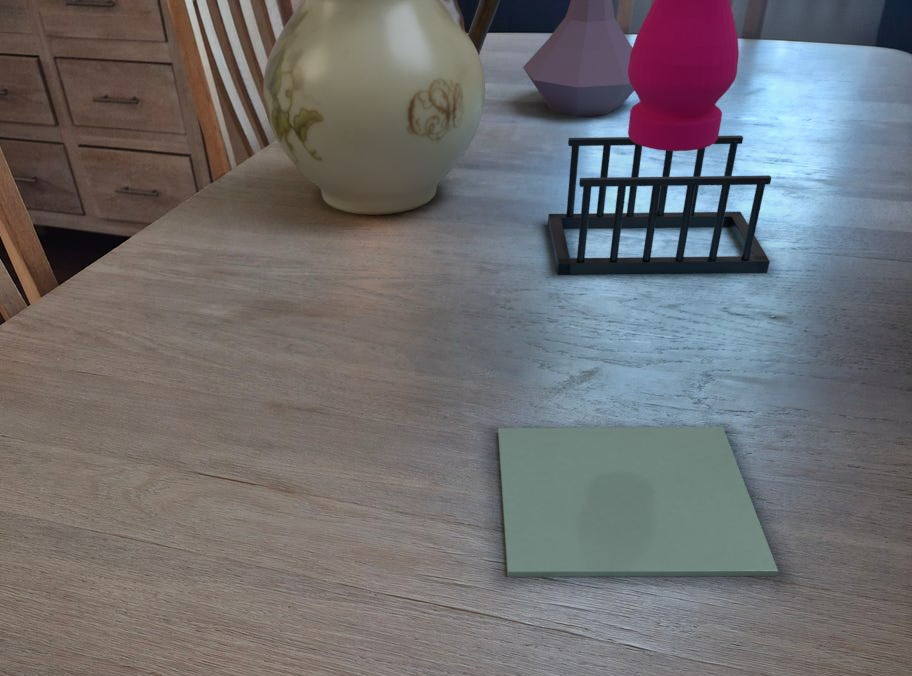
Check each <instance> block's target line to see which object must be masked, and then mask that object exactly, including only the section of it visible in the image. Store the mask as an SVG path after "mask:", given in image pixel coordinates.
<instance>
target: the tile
mask: <svg viewBox="0 0 912 676" xmlns="http://www.w3.org/2000/svg"><path fill="white" fill-rule="evenodd" d="M497 436H498V437H497V438H498V439H497V440H498V454H499V469H500V484H501V498H502V515H503V528H504V529H503V531H504V543H505V544H504V545H505V546H504V547H505V559H506V561H505V562H506V576H507V578H555V577H556V578H565V577H566V578H569V577H570V578H581V577H582V578H590V577H593V578H594V577H595V578H596V577H597V578H598V577H601V578H602V577H603V578H604V577H605V578H606V577H611V578H613V577H614V578H615V577H618V578H619V577H623V578H624V577H625V578H627V577H630V578H631V577H777V576H778V573H779V569H778V566H777V564H776V561H775V559H774V557H773V554H772V551H771V549H770V546H769V543H768V541H767V538H766V535H765V533H764V530H763V528H762V525H761V523H760V520H759V518H758V515H757V512H756V510H755V507H754V504H753V501H752V499H751V496H750V494H749V491H748V488H747V486H746V483H745V481H744V477H743V475H742V473H741V470H740V468H739V465H738V463H737V460H736V457H735V455H734V452H733V450H732V447H731V444H730V442H729V440H728V439H729V438H728V436H727V434H726V432H725V428H724V426H660V427H659V426H649V427H648V426H646V427H644V426H643V427H642V426H639V427H638V426H637V427H636V426H635V427H633V426H632V427H623V426H622V427H501V428H500V427H498V428H497Z"/></svg>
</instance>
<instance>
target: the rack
mask: <svg viewBox="0 0 912 676" xmlns="http://www.w3.org/2000/svg"><path fill="white" fill-rule="evenodd" d="M743 141H744V137H743V135H718V139H717V140H716V142H715V143H714V144H713V145H729V148H728V153H727V158H726V164H725V169H724V174H723V175H702V172H703V171H702V170H703V165H704V159H705V153H706V148H702V149H697V150H696V156H695V162H694V169H693V175H692V176H690V175H689V176H670V175H671V169H672V162H673V155H674V151H666V150H665V154H664V160H663V166H662V167H663V168H662V175H661V176H640V169H641V168H640V167H641V161H642V160H641V159H642V152H643V146H641V145H639V144H636V143H634V142H633V141H631V139H630V138H629V136H611V137H610V136H609V137H608V136H607V137H606V136H604V137H598V136H597V137H596V136H595V137H568V140H567V145H568V147H571V151H570V152H571V154H570V162H569V163H570V164H569V177H568V189H567V201H566V202H567V204H566V213H548V214H547V215H548V217H547V228H548V229H547V230H548V234H549V240H550V244H551V245H550V246H551V249H552V256H553V261H554V266H555V271H556V276H605V275H606V276H607V275H608V276H610V275H611V276H613V275H617V276H619V275H696V274H697V275H701V274H702V275H704V274H705V275H706V274H707V275H710V274H711V275H712V274H713V275H714V274H716V275H717V274H767V273H768V270H769V266H770V262H771V261H770V259H769V257H768V255H767V254H766V253H765V250H764V249H763V247H762V246H761V244H760V242H759V240H758V238H757V237H756V236H755V234H756V231H757V225H758V220H759V215H760V211H761V208H762V207H761V206H762V202H763V197H764V193H765V189H766V185H771V182H772V176H771V175H767V174H766V175H733V171H734V166H735V161H736V155H737V150H738V145H742V144H743ZM612 146H614V147H615V146H618V147H619V146H620V147H621V146H634V150H633V159H632V166H631V167H632V168H631V175H630V176H623V177H621V176H620V177H619V176H618V177H617V176H616V177H614V176H612V177H609V166H610V157H611V148H612ZM580 147H602V155H601V165H600V176H599V177H580V178H579V183H578V184H579V187H580V188H582V196H581V197H582V199H581V208H580V209H581V211H580V213H575V201H576V190H577V179H578V178H577V177H578V168H579V167H578V165H579V155H580V154H579V153H580ZM683 186H686V190H685V191H686V192H685V197H684V204H683V209H682V211H680V212H679V211H678V212H677V211H676V212H675V211H674V212H672V211H671V212H668V211H667V212H665V210H666V203H667V197H668V190H669V187H683ZM700 186H721V188H720V194H719V198H718V205H717V210H716V211H696V207H697V200H698V194H699V187H700ZM731 186H755V191H754V196H753V201H752V206H751V211H750V215H749V220H748V222H747V219H745V217H744V215H743V213H742V212H741V211H726V210H727V205H728V201H729V195H730V189H731ZM609 187H610V188H611V187H612V188H613V187H617V189H616V190H617V192H616V200H615V209H614V212H605V205H606V196H607V188H609ZM627 187H629V192H628V200H627V209H626V212H624V207H625V199H626V192H627V189H626V188H627ZM638 187H652V188H651V193H650V200H649V201H650V202H649V209H648V212H635V207H636V200H637V192H638ZM592 188H598V195H597V205H596V206H597V207H596V212H595V213H594V212H592V213H590V206H591V195H592ZM689 228H690V229H693V228H694V229H695V228H697V229H700V228H704V229H705V228H713V231H712V236H711V242H710V248H709V253H708V256H685V251H686V244H687V238H688V234H689ZM723 228H729V230H730V232H731V234H732V236H733V237H734V240H735V242H736V243H737V245H738V246H739V248H740V251H741V252H742V253H741V256H740V255H736V256H735V255H731V256H730V255H729V256H722V255H721V256H718V252H719V248H720V247H719V246H720V242H721V236H722V232H723ZM601 229H602V230H608V229H610V230H611V229H612V235H611V244H610V245H611V246H610V251H609V252H610V254H609V257H586V250H587V249H586V248H587V237H588V230H601ZM622 229H646V232H645V238H644V246H643V252H642V257H641V256H640V257H639V256H637V257H636V256H635V257H634V256H633V257H632V256H631V257H628V256H627V257H619V250H620V243H621V242H620V241H621V235H622V234H621V233H622ZM656 229H679V234H678V240H677V246H676V252H675V256H652V251H653V244H654V243H653V242H654V238H655V237H654V236H655V230H656ZM565 230H579V231H578V241H577V242H578V243H577V253H576V254H577V255H576V257H571V256H570V252H569V247H568V242H567V238H566V233H565Z"/></svg>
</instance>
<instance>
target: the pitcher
mask: <svg viewBox="0 0 912 676" xmlns="http://www.w3.org/2000/svg"><path fill="white" fill-rule="evenodd" d="M500 2H501V0H479V2H478V5H477V8H476V10H475V14H474V16H473V19H472V22H471V25H470V28H469V30H468V33H467V31H466V27H465V19H464V15H463V13H462V10H461V9H460V6H459V4H458V1H457V0H301V1H300V2H299V4H298V5H297V7H296V9H295V11H294V12H293V13H292V14H291V17H290V18H289V19H288V21H287V22H286V23H285V25H284V27H283V29H282V31H280V34H279V36H278V37H277V39H276V41H275V43H274V45H273V47H272V49H271V51H270V53H269V56H268V58H267V62H266V65H265V69H264V75H263V83H262V94H263V104H264V109H265V113H266V114H265V115H266V117H267V120H268V121H267V122H268V123H269V126H270V128H271V131H272V132H273V134H274V137H275V139H276V141H277V143H278V145H279V146H280V148H281V149H282V151H283V152H284V154H285V155H286V157H288V159H289V160H290V161H291V162H292V164H293V165H294V166H295V167H296V169H298V170H299V171H300V172H301V174H303V176H305V177H306V179H308V180H309V181H310V182H311V183H313V184H314V185H315V186H316V187H318V188H319V189H320V192H321V196H322V199H323V201H324V202H325V203H326V204H327V205H328V206H330V207H331V208H333V209H335V210H337V211H340V212H343V213H349V214H353V215H365V216H380V215H381V216H382V215H383V216H384V215H393V214H399V213H404V212H408V211H412V210H415V209H418V208H420V207H423V206H424V205H426V204H428V203H429V202H430V201H431V200H433V198H435V196H436V193H437V189H438V184H439V183H440V182H441V181H442V180H443V179H444V178H445V177H447V175H449V173H451V171H452V170H453V169H454V168H455V167H456V166H457V164H458V163H459V162H460V161H461V159H462V158H463V156H464V155H465V153H466V152H467V150H468V149H469V147H470V145H471V144H472V142H473V140H474V139H475V136H476V133H477V131H478V128H479V126H480V125H481V121H482V120H481V119H482V116H483V112H484V107H485V103H486V101H485V100H486V77H485V71H484V67H483V63H482V60H481V58H480V54H481V51H482V49H483V46H484V43H485V40H486V39H487V38H486V37H487V35H488V33H489V30H490V28H491V25H492V23H493V21H494V18H495V16H496V14H497V11H498V8H499V5H500Z"/></svg>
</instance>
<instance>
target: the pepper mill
mask: <svg viewBox="0 0 912 676" xmlns="http://www.w3.org/2000/svg"><path fill="white" fill-rule="evenodd" d="M738 37H739V36H738V33H737V27H736V22H735V18H734V14H733V10H732V3H731V0H653V2H652V4H651V7H650V9H649V11H648V12H647V13H646V16H645V18H644V19H643V22H642V23H641V26H640V27H639V30H638V32H637V34H636V37H635V39H634V43H633V45H632V47H633V48H632V51H631V55H630V61H629V66H628V77H629V81H630V83H631V85H632V87H633V89H634V92H635V94H636V95H637V97H638V99H639V101H638V102H637V103H635V104H634V105H633V106H632V107H631V109H630V110H629V121H628V129H627V130H628V131H627V135H628V136H627V137H629V138H630V139H631V141H633V142H634V143H636V144H639V145H641V146H642V148H648V149H653V150H656V151H657V150H658V151H665V152H666V151H673V152H690V151H697V150H698V149H702V148H705V149H706V148H708V147H710V146H712V145H715V144H714V143H715V142H716V140H717V139H718V136H720V135H719V134H720V128H721V125H722V118H723V112H722V110H721V108H720V107H719V106H717V105H716V104H717V102H718V101H719V100H720V99H721V98H722V97H723V96H725V94H726V93H727V91H729V90H730V88H731V87H732V85H733V84H734V82H735V81H736V78H737V75H738V66H739V55H740V51H739V48H740V47H739V38H738Z"/></svg>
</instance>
